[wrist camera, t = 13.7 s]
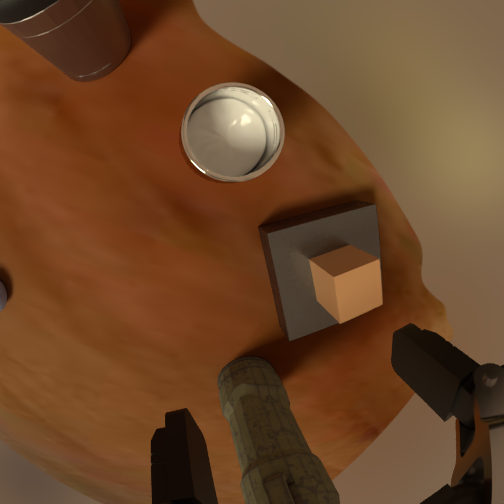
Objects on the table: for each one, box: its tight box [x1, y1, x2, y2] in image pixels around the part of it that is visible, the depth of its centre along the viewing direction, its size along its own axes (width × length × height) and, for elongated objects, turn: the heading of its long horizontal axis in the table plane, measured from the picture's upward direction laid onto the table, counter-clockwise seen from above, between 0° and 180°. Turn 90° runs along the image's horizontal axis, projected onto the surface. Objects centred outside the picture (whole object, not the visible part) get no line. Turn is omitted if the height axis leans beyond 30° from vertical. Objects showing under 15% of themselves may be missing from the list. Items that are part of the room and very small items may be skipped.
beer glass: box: [179, 82, 285, 183], centre depth 24 cm, size 7×7×15 cm
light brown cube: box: [309, 245, 383, 324], centre depth 31 cm, size 6×6×6 cm
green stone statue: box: [218, 357, 340, 504], centre depth 24 cm, size 9×12×35 cm
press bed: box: [258, 200, 382, 341], centre depth 36 cm, size 14×14×4 cm
